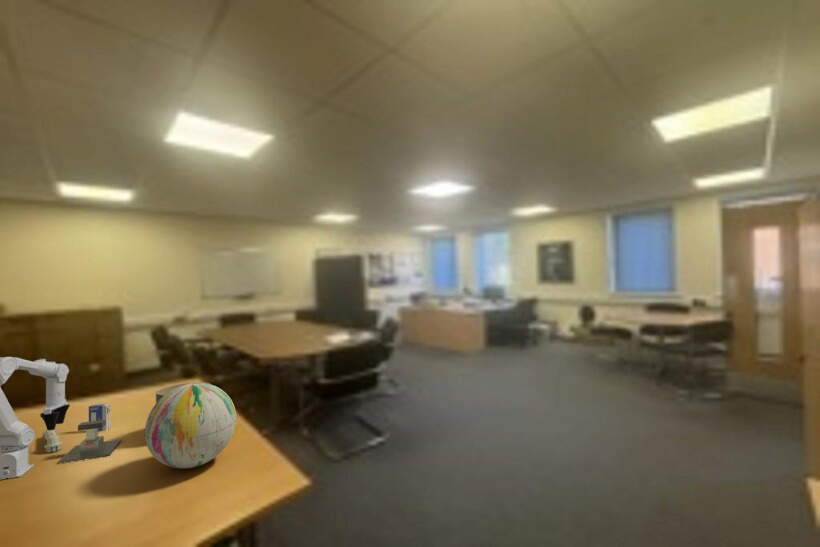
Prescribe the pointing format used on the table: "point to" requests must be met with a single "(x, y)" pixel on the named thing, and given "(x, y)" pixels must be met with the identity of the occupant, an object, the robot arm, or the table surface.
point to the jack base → (91, 450)
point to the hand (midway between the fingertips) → (55, 426)
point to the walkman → (100, 414)
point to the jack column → (91, 429)
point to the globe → (190, 425)
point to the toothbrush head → (52, 441)
